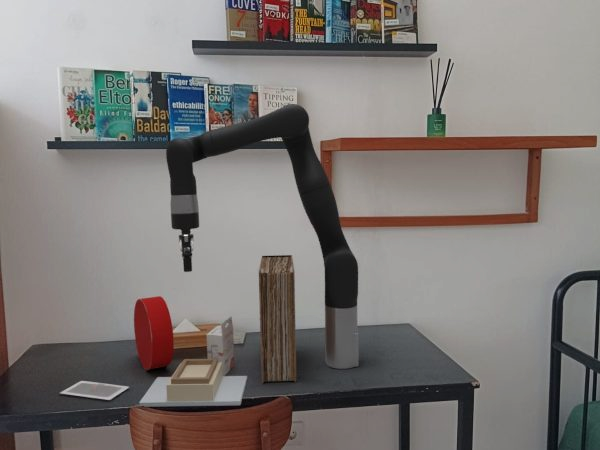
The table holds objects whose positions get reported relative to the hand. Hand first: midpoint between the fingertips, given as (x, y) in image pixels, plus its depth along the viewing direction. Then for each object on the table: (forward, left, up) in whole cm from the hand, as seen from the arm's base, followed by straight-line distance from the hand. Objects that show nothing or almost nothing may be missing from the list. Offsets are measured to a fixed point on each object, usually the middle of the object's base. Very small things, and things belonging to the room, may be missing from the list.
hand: (187, 268), depth 138 cm
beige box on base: (-5, +17, -28) cm, 33 cm away
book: (-25, 0, -29) cm, 38 cm away
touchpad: (+21, +16, -29) cm, 39 cm away
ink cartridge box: (-9, +3, -29) cm, 30 cm away
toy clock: (+11, -1, -29) cm, 31 cm away
